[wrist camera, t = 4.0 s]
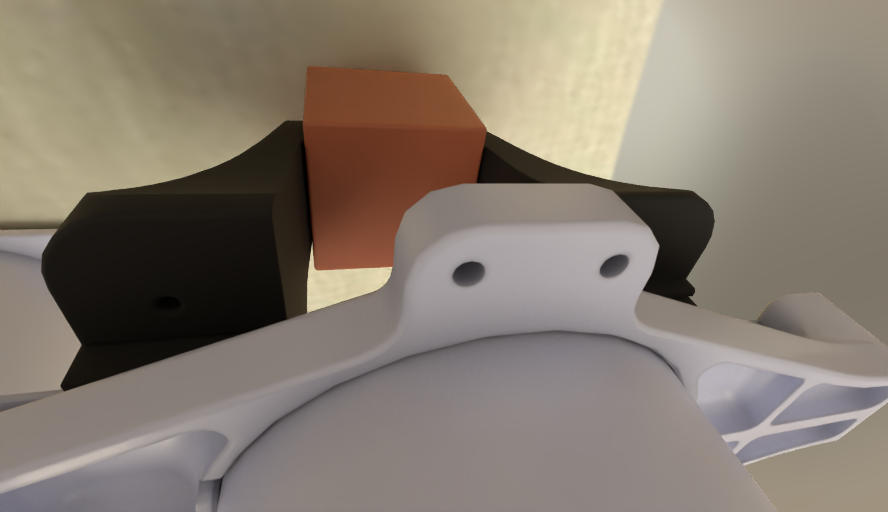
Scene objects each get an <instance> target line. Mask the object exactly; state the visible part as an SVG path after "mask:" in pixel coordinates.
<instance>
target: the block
mask: <svg viewBox="0 0 888 512" xmlns="http://www.w3.org/2000/svg"><path fill="white" fill-rule="evenodd" d="M486 132H487V130H486V127H485V126H484V124H483V123H482V122H481V120H480V119H479V118H478V116H477V115H476V113H475V112H474V111H473V109H472V108H471V107H470V105H469V104H468V102H467V101H466V100H465V98H464V97H463V96H462V94H461V93H460V92H459V90H458V89H457V87H456V86H455V85H454V83H453V82H452V81H451V79H450V78H449V76H447V75H441V74H426V73H410V72H395V71H380V70H364V69H349V68H334V67H318V66H309V67H307V72H306V87H305V101H304V116H303V133H304V145H305V158H306V170H307V182H308V195H309V207H310V219H311V232H312V244H313V256H314V267H315V269H316V270H335V269H356V268H377V267H393V260H394V245H395V237H396V234H397V232H398V229H399V226H400V224H401V221H402V219H403V216H404V214H405V212H406V211H407V210H408V209H409V208H411V207H412V206H413V205H414V204H416V203H417V202H418V201H419V200H421V199H422V198H423V197H424V196H425V195H427V194H428V193H429V192H430V191H434V190H438V189H443V188H447V187H451V186H455V185H459V184H477V179H478V174H479V169H480V163H481V158H482V153H483V148H484V143H485V138H486Z"/></svg>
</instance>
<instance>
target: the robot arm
mask: <svg viewBox="0 0 888 512" xmlns="http://www.w3.org/2000/svg"><path fill="white" fill-rule="evenodd" d="M714 222H715V221H714V214H713V210H712V209H711V207H710V206H709V204H708V203H707V202H706V201H705V200H704V199H702V198H700V196H698V195H697V194H696V193H694V192H693V191H689V190H680V189H669V188H658V187H648V186H640V185H634V184H628V183H622V182H617V181H612V180H607V179H603V178H599V177H595V176H591V175H587V174H583V173H580V172H576V171H573V170H570V169H567V168H564V167H561V166H559V165H556V164H553V163H551V162H548V161H546V160H543V159H541V158H539V157H537V156H534V155H532V154H530V153H528V152H526V151H524V150H522V149H520V148H518V147H516V146H514V145H512V144H510V143H508V142H506V141H504V140H502V139H500V138H499V137H497V136H495V135H493V134H491V133H489V132H486V138H485V143H484V148H483V153H482V158H481V163H480V169H479V174H478V179H477V184H459V185H455V186H451V187H447V188H443V189H438V190H434V191H430V192H429V193H428V194H427V195H425V196H424V197H423V198H422V199H421V200H419V201H418V202H417V203H416V204H414V205H413V206H412V207H411V208H409V209H408V210H407V211H406V212H405V214H404V216H403V219H402V221H401V224H400V226H399V229H398V232H397V234H396V237H395V245H394V260H393V268H392V272H391V276H390V278H389V280H388V281H387V283H386V284H385V285H384V286H383V287H381V288H380V289H378V290H377V291H374V292H371V293H368V294H365V295H362V296H359V297H356V298H353V299H349V300H346V301H343V302H340V303H337V304H334V305H331V306H328V307H325V308H322V309H318V310H315V311H312V312H309V313H307V279H308V268H309V261H310V253H311V246H312V232H311V219H310V207H309V195H308V182H307V170H306V158H305V145H304V133H303V121H290V120H286V121H285V122H283V123H282V124H281V125H280V126H279V127H277V128H276V129H275V130H274V131H273V132H271V133H270V134H269V135H268V136H266V137H265V138H264V139H262V140H261V141H260V142H258V143H257V144H255V145H254V146H252V147H251V148H249V149H248V150H246V151H245V152H243V153H242V154H240V155H238V156H236V157H235V158H233V159H231V160H229V161H227V162H224V163H222V164H220V165H218V166H215V167H213V168H210V169H207V170H204V171H201V172H198V173H196V174H193V175H190V176H187V177H183V178H180V179H175V180H171V181H167V182H163V183H158V184H153V185H148V186H142V187H136V188H127V189H119V190H111V191H102V192H92V193H87V194H86V195H85V196H84V197H83V198H82V199H81V201H80V202H79V203H78V204H77V206H76V207H75V208H74V209H73V211H72V212H71V213H70V214H69V216H68V217H67V218H66V220H65V221H64V222H63V223H62V225H61V226H60V227H59V228H58V229H21V230H0V512H778V511H777V510H776V508H775V507H774V506H773V504H772V503H771V502H770V501H769V499H768V498H767V496H766V495H765V494H764V492H763V491H762V490H761V488H760V487H759V486H758V484H757V483H756V482H755V480H754V479H753V478H752V476H751V475H750V474H749V472H748V471H747V470H746V468H745V467H744V465H747V464H750V463H753V462H756V461H760V460H762V459H766V458H769V457H772V456H775V455H779V454H782V453H786V452H790V451H793V450H797V449H800V448H804V447H808V446H812V445H817V444H821V443H826V442H830V441H835V440H838V439H839V438H841V437H842V436H843V435H845V434H846V433H847V432H849V431H850V430H851V429H853V428H854V427H855V426H857V425H858V424H859V423H861V422H862V421H863V420H865V419H866V418H867V417H869V416H870V415H871V414H873V413H874V412H875V411H877V410H878V409H879V408H881V407H882V406H883V405H884V404H886V403H887V402H888V347H887V346H886V345H884V344H883V343H882V342H881V341H879V340H878V339H877V338H875V337H874V336H873V335H871V334H870V333H869V332H868V331H867V330H865V329H864V328H863V327H861V326H860V325H859V324H858V323H856V322H855V321H854V320H853V319H851V318H850V317H849V316H847V315H846V314H845V313H844V312H842V311H841V310H840V309H839V308H837V307H836V306H835V305H834V304H832V303H831V302H830V301H828V300H827V299H826V298H825V297H823V296H822V295H821V294H820V293H816V292H815V293H802V294H790V295H782V296H779V297H777V298H775V299H773V300H772V301H770V302H769V303H768V304H767V305H766V306H765V307H764V308H763V310H762V311H761V312H760V314H759V315H758V317H757V320H751V321H745V320H741V319H738V318H735V317H731V316H728V315H724V314H721V313H717V312H714V311H711V310H707V309H704V308H700V307H698V306H697V305H696V304H695V303H694V302H693V301H692V300H691V299H690V298H689V297H688V296H693V294H694V293H695V288H694V287H693V286H692V285H691V284H690V283H689V282H688V281H687V280H686V278H687V276H688V275H689V273H690V272H691V270H692V269H693V267H694V265H695V264H696V262H697V260H698V259H699V257H700V256H701V254H702V253H703V251H704V249H705V248H706V246H707V244H708V242H709V240H710V238H711V236H712V231H713V227H714Z"/></svg>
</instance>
